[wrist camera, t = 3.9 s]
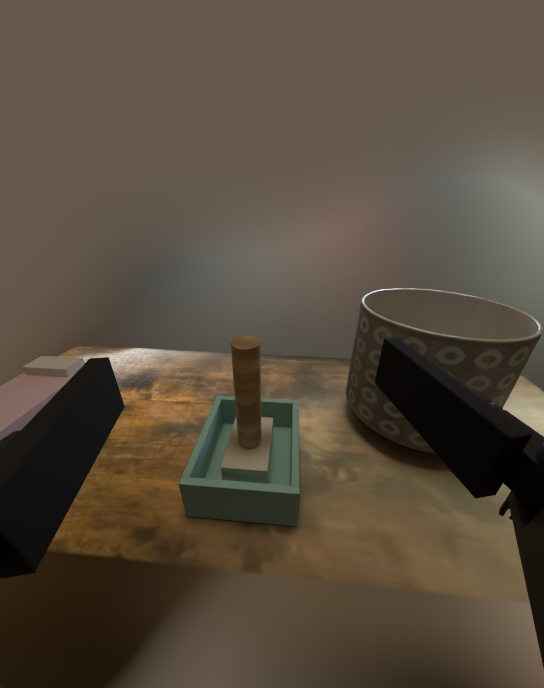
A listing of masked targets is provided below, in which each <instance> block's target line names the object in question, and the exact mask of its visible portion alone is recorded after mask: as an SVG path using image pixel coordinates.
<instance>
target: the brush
mask: <svg viewBox="0 0 544 688" xmlns="http://www.w3.org/2000/svg"><path fill="white" fill-rule="evenodd" d="M231 351H232V365H233V378H234V392H235V406H236V418H235V421H234V425H233V428H232V431H231V435H230V438H229V441H228V445H227V448H226V452H225V455H224V458H223V462H222V465H221V473H222V480H228V481H241V482H253V483H265V484H268V482H269V472H270V462H271V452H272V443H273V418H269V417H261V371H260V341H259V340H258V339H257V338H254V337H249V336H244V337H239V338H236V339H234V340H233V341H232V342H231Z"/></svg>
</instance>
